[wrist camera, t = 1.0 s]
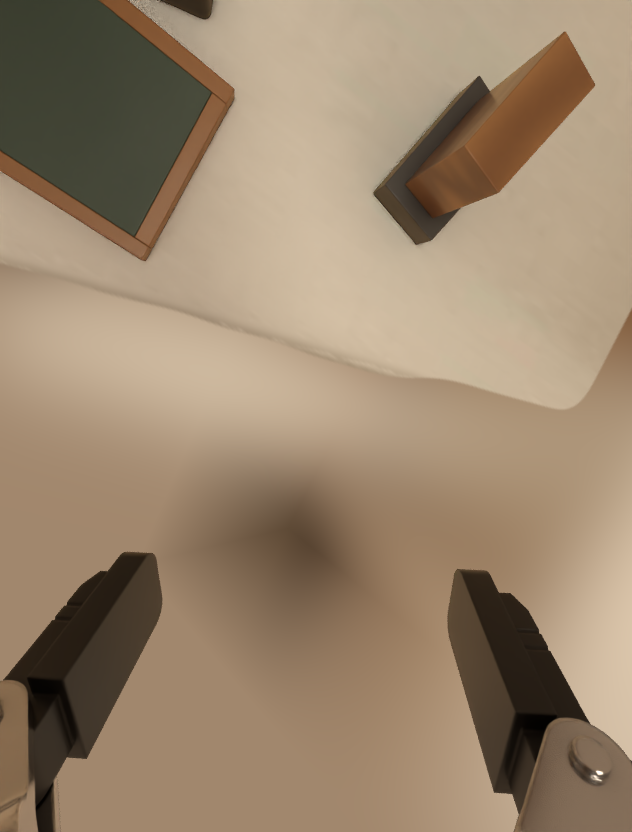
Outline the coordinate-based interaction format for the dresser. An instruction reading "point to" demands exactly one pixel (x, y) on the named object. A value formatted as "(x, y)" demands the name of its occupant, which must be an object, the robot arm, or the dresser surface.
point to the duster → (484, 140)
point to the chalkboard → (103, 113)
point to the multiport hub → (194, 6)
